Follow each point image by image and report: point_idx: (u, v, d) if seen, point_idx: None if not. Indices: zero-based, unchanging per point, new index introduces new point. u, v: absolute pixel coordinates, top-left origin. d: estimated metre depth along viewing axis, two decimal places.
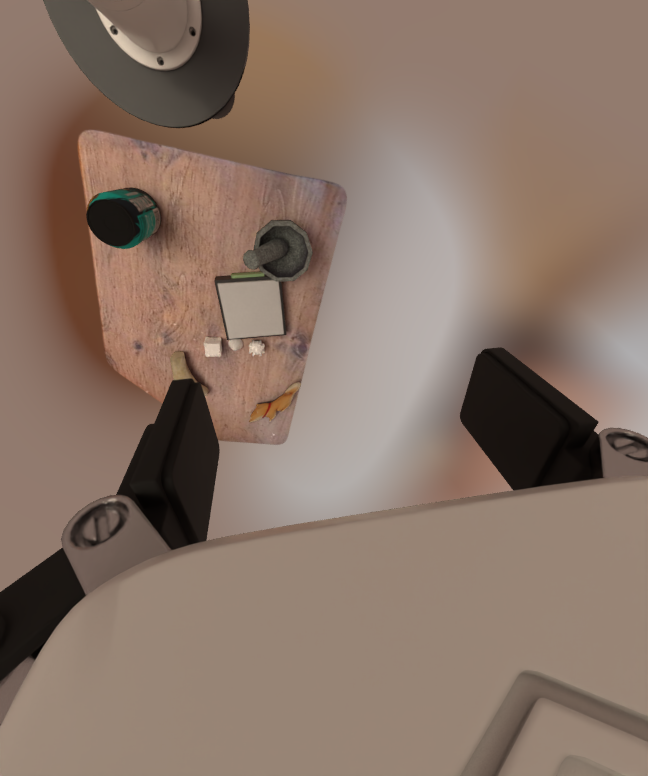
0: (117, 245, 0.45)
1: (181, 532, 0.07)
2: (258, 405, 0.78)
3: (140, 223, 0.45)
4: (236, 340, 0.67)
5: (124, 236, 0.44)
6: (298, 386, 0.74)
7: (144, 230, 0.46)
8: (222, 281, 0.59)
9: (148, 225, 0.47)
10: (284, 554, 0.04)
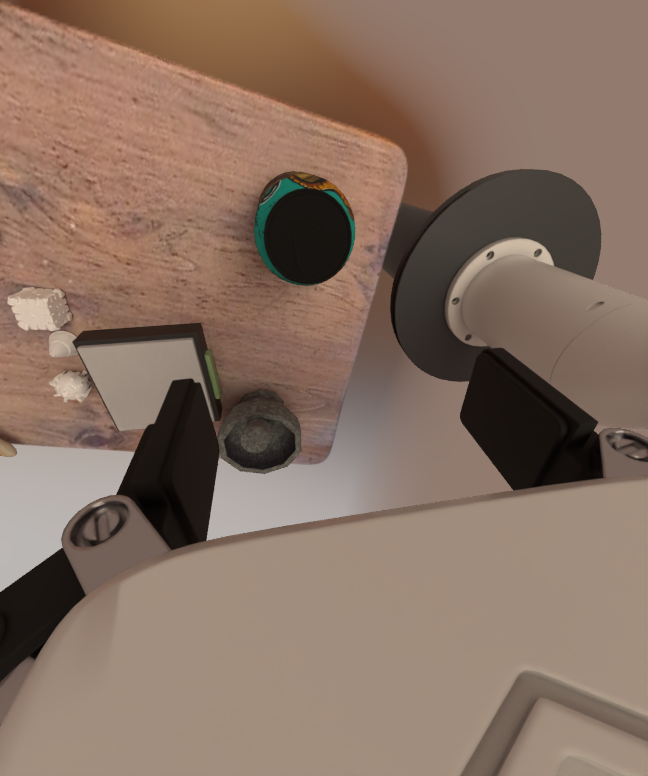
0: (266, 238, 0.20)
1: (182, 532, 0.07)
2: None
3: (303, 284, 0.24)
4: (75, 348, 0.34)
5: (284, 258, 0.21)
6: (5, 455, 0.38)
7: None
8: (197, 344, 0.34)
9: None
10: (284, 554, 0.04)
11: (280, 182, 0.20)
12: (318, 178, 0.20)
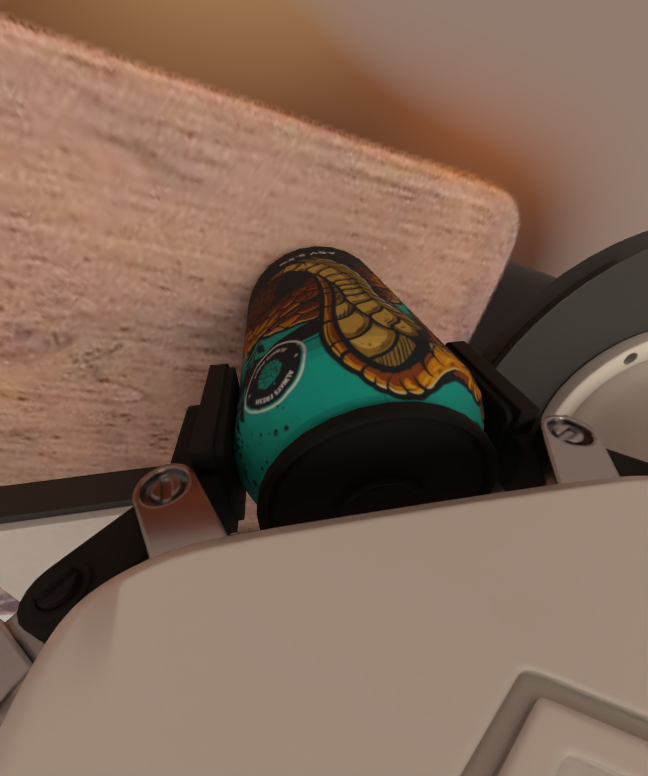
0: (263, 515, 0.07)
1: (227, 502, 0.08)
2: None
3: None
4: None
5: None
6: None
7: None
8: None
9: None
10: (284, 554, 0.04)
11: (303, 361, 0.07)
12: (412, 346, 0.07)
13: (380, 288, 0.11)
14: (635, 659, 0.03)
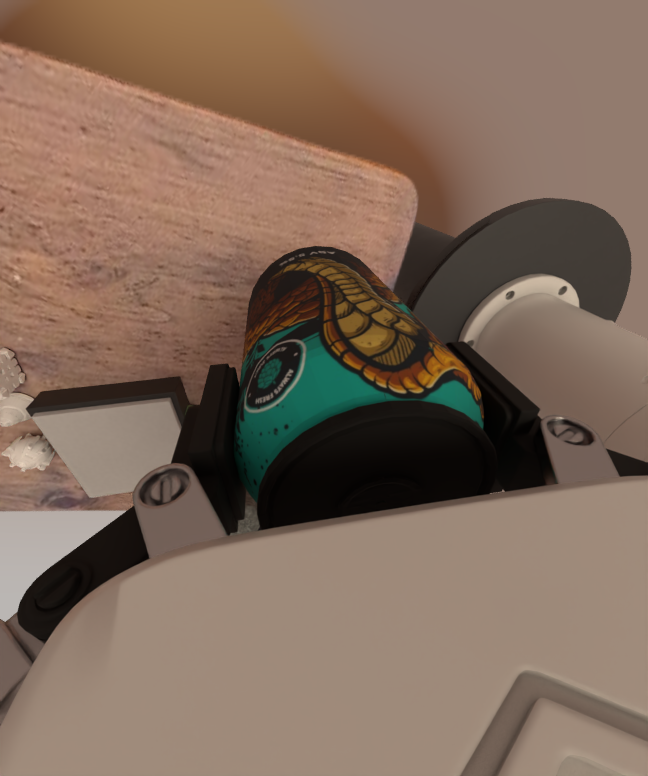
0: (263, 514, 0.07)
1: (227, 502, 0.08)
2: None
3: None
4: None
5: None
6: None
7: None
8: (176, 404, 0.29)
9: None
10: (284, 554, 0.04)
11: (303, 360, 0.07)
12: (412, 346, 0.07)
13: (380, 287, 0.11)
14: (635, 659, 0.03)
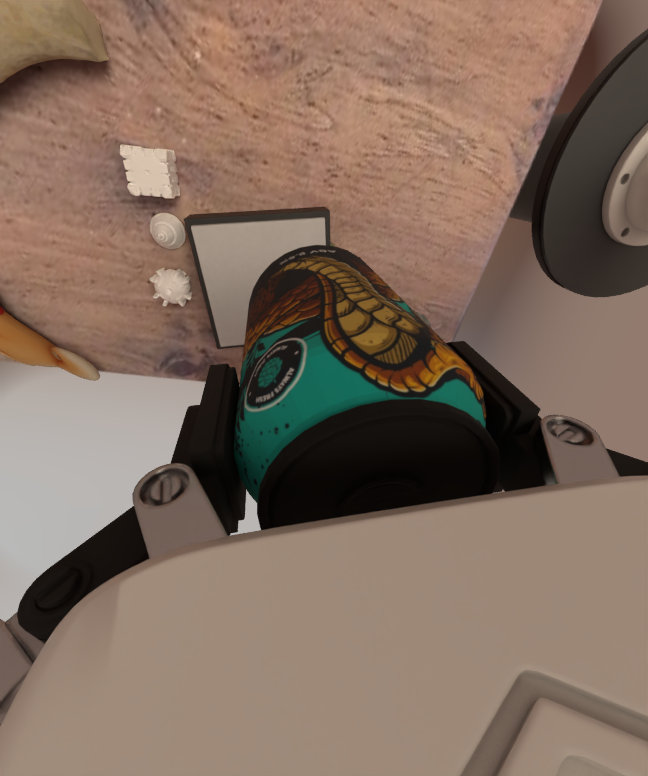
0: (263, 514, 0.07)
1: (227, 502, 0.08)
2: None
3: None
4: (180, 236, 0.28)
5: None
6: (88, 377, 0.32)
7: None
8: (326, 228, 0.28)
9: None
10: (284, 554, 0.04)
11: (304, 359, 0.07)
12: (414, 344, 0.07)
13: (381, 286, 0.11)
14: (635, 658, 0.03)
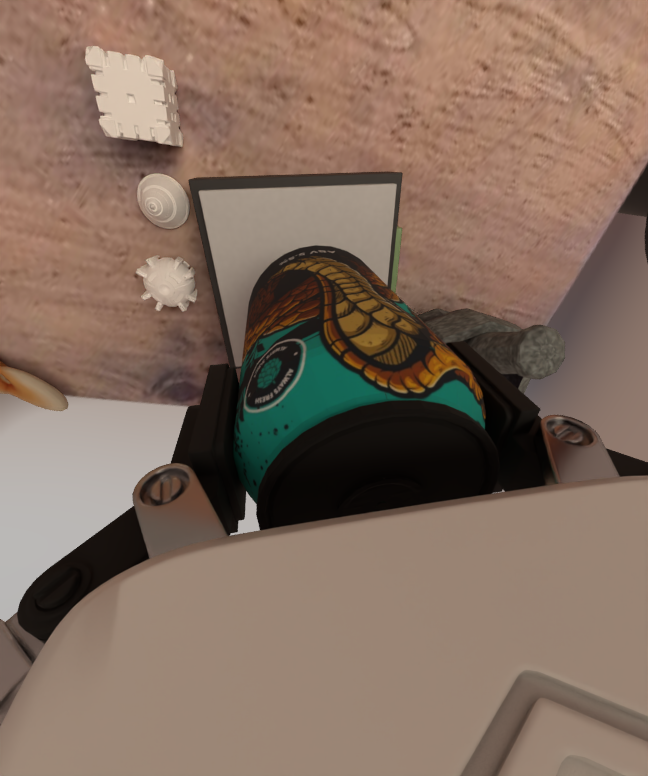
0: (263, 515, 0.07)
1: (227, 502, 0.08)
2: None
3: None
4: (182, 209, 0.19)
5: None
6: (52, 407, 0.23)
7: None
8: (395, 200, 0.19)
9: None
10: (284, 554, 0.04)
11: (303, 360, 0.07)
12: (413, 345, 0.07)
13: (380, 287, 0.11)
14: (635, 659, 0.03)
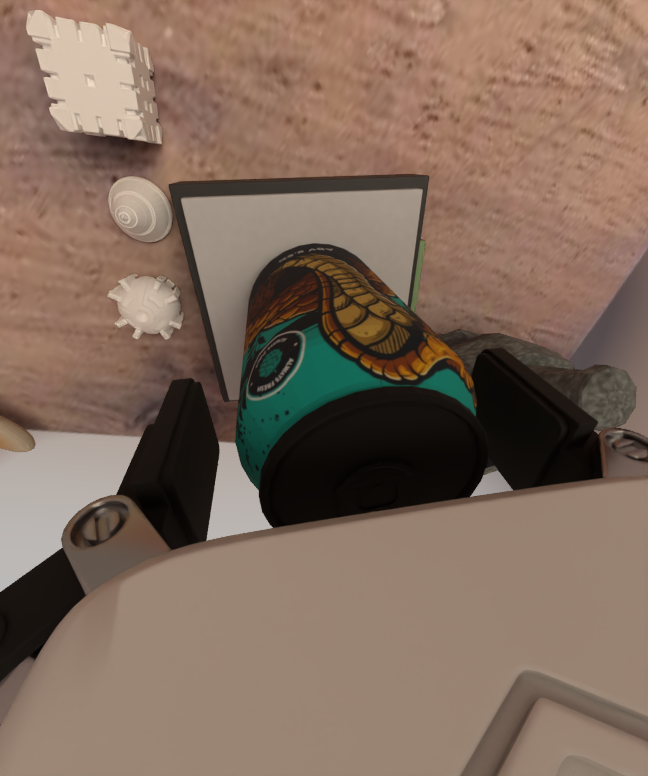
0: (265, 497, 0.08)
1: (181, 532, 0.07)
2: None
3: None
4: (163, 219, 0.16)
5: (313, 521, 0.08)
6: (14, 449, 0.20)
7: None
8: (419, 208, 0.16)
9: None
10: (284, 554, 0.04)
11: (303, 350, 0.07)
12: (406, 335, 0.07)
13: (377, 282, 0.11)
14: (635, 659, 0.03)
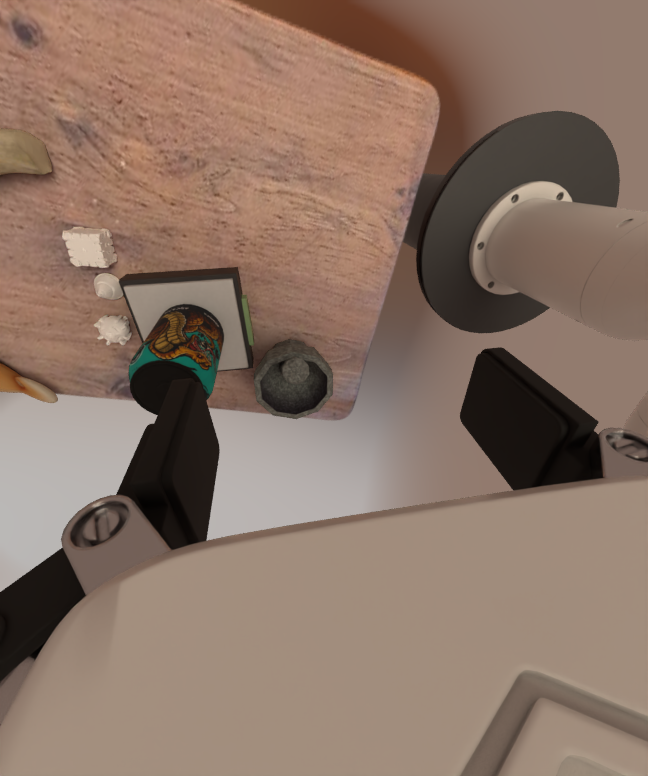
0: (133, 392, 0.27)
1: (181, 532, 0.07)
2: None
3: None
4: (119, 291, 0.35)
5: (152, 403, 0.28)
6: (47, 400, 0.39)
7: None
8: (235, 286, 0.35)
9: None
10: (284, 554, 0.04)
11: (142, 350, 0.27)
12: (172, 347, 0.27)
13: (189, 326, 0.30)
14: (635, 659, 0.03)
